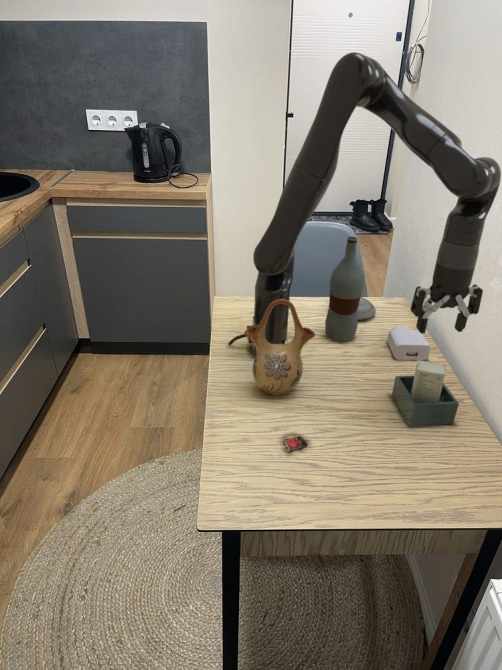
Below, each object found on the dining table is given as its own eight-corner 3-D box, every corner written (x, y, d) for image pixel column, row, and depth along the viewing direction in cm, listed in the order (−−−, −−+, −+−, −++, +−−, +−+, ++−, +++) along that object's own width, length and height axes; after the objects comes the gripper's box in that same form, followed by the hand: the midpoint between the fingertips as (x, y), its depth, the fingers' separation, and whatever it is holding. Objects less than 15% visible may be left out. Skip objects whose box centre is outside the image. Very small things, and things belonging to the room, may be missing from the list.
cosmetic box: (435, 407, 118) (446, 364, 112) (434, 418, 114) (446, 374, 108) (407, 401, 119) (417, 358, 113) (406, 412, 116) (416, 368, 110)
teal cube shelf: (409, 426, 111) (414, 405, 108) (391, 396, 121) (395, 376, 118) (453, 424, 112) (459, 403, 109) (431, 394, 122) (437, 374, 119)
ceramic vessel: (307, 380, 126) (316, 290, 114) (311, 402, 118) (321, 308, 106) (243, 379, 126) (244, 289, 113) (242, 401, 118) (244, 306, 106)
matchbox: (309, 444, 105) (310, 443, 105) (291, 454, 102) (291, 452, 102) (295, 432, 108) (295, 431, 108) (277, 441, 106) (277, 439, 105)
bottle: (360, 334, 148) (375, 237, 133) (348, 347, 141) (362, 246, 126) (331, 325, 152) (342, 230, 138) (318, 337, 146) (329, 239, 131)
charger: (412, 333, 149) (427, 360, 136) (381, 333, 149) (394, 359, 136) (415, 319, 147) (431, 345, 134) (384, 319, 147) (396, 344, 134)
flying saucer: (365, 327, 152) (367, 311, 149) (320, 315, 158) (322, 299, 156) (381, 309, 163) (384, 294, 160) (339, 298, 170) (341, 283, 167)
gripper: (479, 254, 105) (461, 322, 113) (415, 255, 103) (401, 324, 111) (498, 267, 98) (478, 338, 106) (430, 269, 97) (415, 341, 105)
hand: (439, 331), depth 109 cm, fingers open, 8 cm apart
